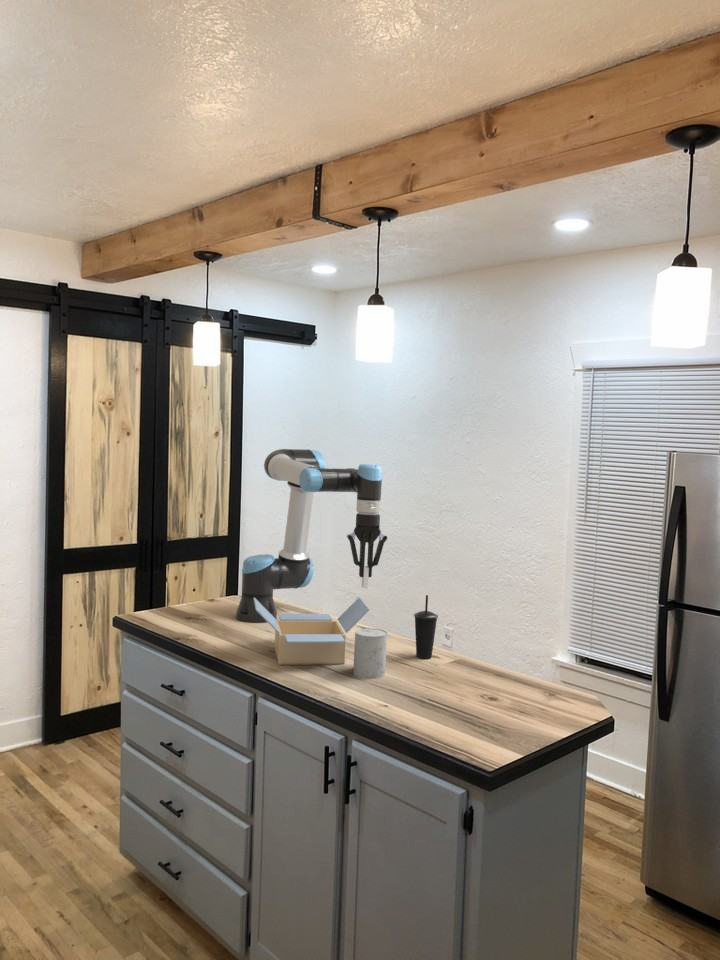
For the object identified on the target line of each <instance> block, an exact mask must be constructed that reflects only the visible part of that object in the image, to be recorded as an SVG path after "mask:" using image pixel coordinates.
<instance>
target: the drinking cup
mask: <svg viewBox="0 0 720 960" xmlns="http://www.w3.org/2000/svg"><path fill="white" fill-rule="evenodd" d="M428 604H429V595H428V594H427V595H425V606H424V607H425V609H424V610H420V611H418V612H415V613H414V614H413V617H414V627H415V628H414V629H415V649H416V650H415V651H416V653H415V655H416V658H418V659H421V660H429V659H432V657H433V648H434V644H435V643H434V642H435V635H436V627H437V621H438V618H439V615H438V614H436V613H434V612H432V611H429V610H428V607H429V606H428Z"/></svg>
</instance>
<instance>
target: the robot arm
mask: <svg viewBox="0 0 720 960" xmlns="http://www.w3.org/2000/svg"><path fill="white" fill-rule="evenodd" d="M263 468H264V473H266V475H267V476H268V477H269V478H270V479H273V480H275V481H279V482H280V481H281V482H284V481H286V482H287V483H286V484H287V486H288V487H289V488H290V492H289V501H288V510H287V518H286V525H285V534H284V542H283V548H282V549H280V551H279V552H278V557H277V558H275V556H274V555H273V554H269V553H267V554H255V555H251V556H248V557H246V558H245V559H244V560H243V563H242V569H241V572H242V573H241V574H242V575H241V598H240V600H239V603H238V606H237V609H236V612H235V615H236V616H235V618H236V619H237V620H238V621H242V622H245V623H246V622H247V623H268V622H267V621H266V620H265V619H264V618H263V617H262V616H261V615H260V614H259V613H258V612H257V611H256V609H255V604H254V599H253V598H255V599H256V600H257V601H258V602H259V603H260V604H261V605H262V606H263V607H264V608H265V609H266V610H267V611H268V612H269V613H270V614H271V615H272V616H273V617H274V618H275V619H276V620H277V618H278V617H277V616H278V614H277V608H276V605H275V601H274V598H273V597H274V590H283V589H286V590H287V589H288V590H289V589H301V588H305V587H307V586H308V585H309V584H310V583H311V581H312V579H313V576H314V563H313V560H312V559H311V558H310V554H309V553H308V552H307V545H308V538H309V529H310V522H311V516H312V515H311V513H312V507H313V499H314V493H316V492H318V493H319V492H320V493H323V492H324V493H325V492H327V493H328V492H330V493H333V492H334V493H356V512H357V513H356V514H355V515H356V516H355V527H354V530H353V531H352V532H351V533H347V534H346V538H347V540H348V541H349V545H350V551H351V554H352V560H353V564H355V566H358V567H359V569H358V571H359V572H358V575H359V576H358V577H360V578H361V588H362V589H368V588H369V578H372V575H373V574H372V573H373V567H376V566H378V564H379V562H380V559H381V555H382V552H383V548H384V545H385V543H386V541H387V540H388V536H387V535H385V534H383V533H382V531H381V528H380V523H381V520H380V519H381V516H380V514H379V513H381V499H382V483H383V481H382V480H383V476H382V475H383V469H382V466H381V465H380V464H370V463H368V464H367V463H362V464H359V466H358V467H357V468H352V467H350V468H348V467H347V468H327V463H326V459H325V457H324V454H323V453H322V452H321V451H319V450H313V449H309V448H308V449H304V448H303V449H295V448H294V449H292V448H291V449H290V448H289V449H288V448H281V449H280V448H279V449H276V450H273V451H272V452H270V453H269V454H268V455H267V456H266V458H265V460H264V463H263ZM356 538H357V540H358V541H359V557H358V553H357V551H358V550H357V545H356V543H355V540H356ZM377 539H378V543H377V546H376V549H375V552H374V544H375V542H376V540H377ZM366 544H367V563H366V565H365V560H366V559H365V558H366ZM374 553H375V554H374Z"/></svg>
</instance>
